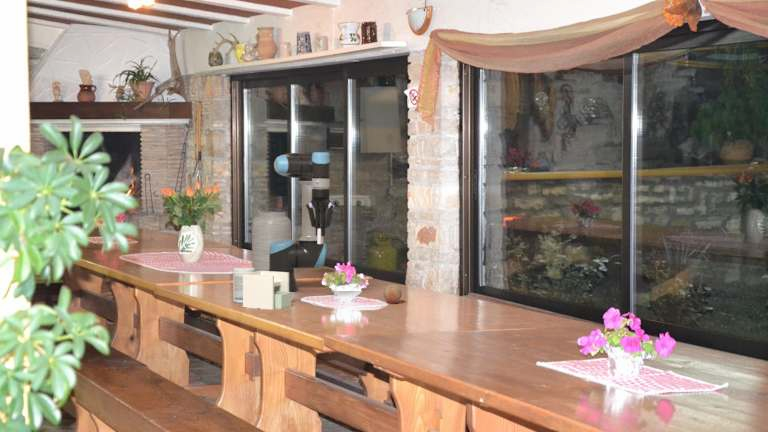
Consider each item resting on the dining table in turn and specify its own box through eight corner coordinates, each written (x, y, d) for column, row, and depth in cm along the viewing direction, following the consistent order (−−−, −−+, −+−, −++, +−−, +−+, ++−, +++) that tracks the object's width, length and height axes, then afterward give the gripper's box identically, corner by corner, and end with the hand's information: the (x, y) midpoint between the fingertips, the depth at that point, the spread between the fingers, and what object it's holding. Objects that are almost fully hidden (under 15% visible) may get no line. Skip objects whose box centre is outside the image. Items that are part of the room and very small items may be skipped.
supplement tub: (258, 302, 456) (259, 269, 455) (239, 304, 450) (239, 270, 449) (249, 300, 464) (249, 266, 463) (229, 301, 458) (229, 268, 457)
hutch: (260, 302, 456) (260, 270, 455) (289, 304, 451) (289, 272, 450) (242, 307, 442) (243, 274, 441) (272, 309, 437) (272, 276, 436)
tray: (262, 304, 452) (262, 290, 452) (291, 306, 447) (291, 292, 447) (251, 307, 443) (251, 292, 443) (281, 309, 438) (281, 294, 438)
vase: (257, 274, 559) (257, 211, 557) (294, 275, 557) (295, 211, 555) (247, 278, 539) (247, 213, 537) (286, 279, 537) (286, 214, 535)
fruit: (380, 303, 457) (381, 285, 456) (387, 301, 464) (387, 283, 464) (398, 305, 454) (398, 286, 454) (404, 302, 462) (404, 284, 461)
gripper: (303, 188, 447) (302, 243, 448) (331, 189, 442) (330, 245, 444) (310, 187, 454) (310, 242, 455) (338, 188, 449) (337, 243, 451)
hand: (320, 243), depth 450 cm, fingers closed
